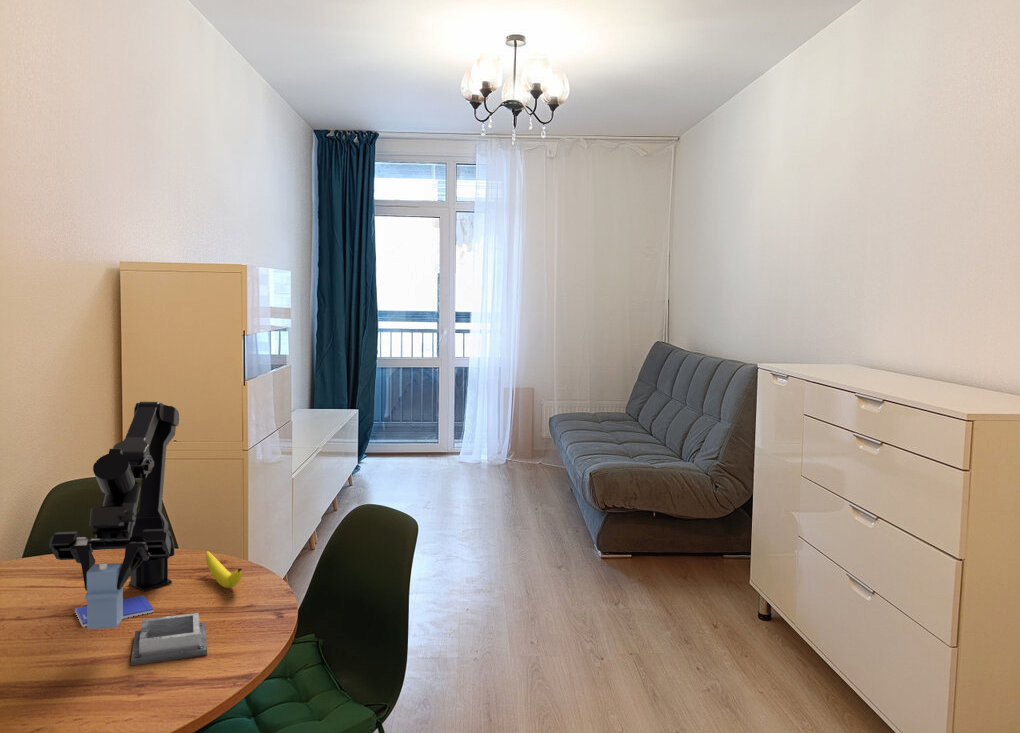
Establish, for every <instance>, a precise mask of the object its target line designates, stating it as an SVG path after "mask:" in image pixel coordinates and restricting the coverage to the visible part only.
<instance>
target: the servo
mask: <svg viewBox="0 0 1020 733" xmlns="http://www.w3.org/2000/svg"><path fill="white" fill-rule="evenodd" d="M122 564H123V562H119V563H118V562H116V563H107V562H101V563H95V564H94V565H93V566H92V567H91V568H90V569H89V570H88V571H87V591H86V594H85V595H84V600H86V606H87V627H86V628H87V630H97V629H99V630H101V629H117V628H118V627H119V625H120V623H121V621H123V599H124V593H123V591H124V590H123V588H124V586H125V584H124V585H123V587H122V588H121V589H120V590H118V589H117V583H118V577H119V574H120V571H121V567H122Z"/></svg>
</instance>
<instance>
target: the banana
mask: <svg viewBox="0 0 1020 733" xmlns="http://www.w3.org/2000/svg"><path fill="white" fill-rule="evenodd" d="M205 554H206V555H205V557H206V558H205V559H206V564H207V567H208V570H209V571H210V574H211V576H212V577H213V578H214V579H215V581H216V582H217V584H219V585H220V586H221V587H222V588H226V589H232V588H234V587H236V586H237V585H238V584H240V581H241V580H242V579H241V578H242V575H243V574H242V570H243V569H242V568H238V569H237V570H236V571H233V572H230V571H229V570H228V569H227V568H226V567H225V566H224V565H223V564H222V563H221V562H220V561H219V559H217V558H216V557H215V556H214V555H213V554H212V553H211V552H210V550H209V551H206V553H205Z"/></svg>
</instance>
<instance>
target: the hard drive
mask: <svg viewBox="0 0 1020 733" xmlns="http://www.w3.org/2000/svg"><path fill="white" fill-rule="evenodd" d="M152 612H153V613H154V607H153V606H152V605H151V603H150V602H149V601H148V600H147V598H146V597H145V596H144V595H143V594H142V595H138V596H133V597H128V598H123V619H124V620H125V619H128V617H129V618H133V616H134V617H137V616H138V615H139V616H142V614H144V615H148V614H151V613H152ZM75 613H76V614H75ZM147 613H148V614H147ZM74 614H75V616H76V615H77V616H76V618H77V617H78V618H77V619H79V620H78V622H79V623H80V625H81V627H82V628H86V627H85V626H87V605H86V606H85V605H84V606H81V607H76V608H74ZM123 619H122V620H123Z"/></svg>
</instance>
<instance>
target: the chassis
mask: <svg viewBox="0 0 1020 733" xmlns="http://www.w3.org/2000/svg"><path fill="white" fill-rule="evenodd" d="M199 614H200V612H195V613H186V614H185V613H184V614H178V615H169V616H162V617H160V616H159V617H153V618H145V619H141V624H140V626H141V627H140V630H135V631H134V638H133V644H132V652H131V660H130V661H131V663H130V666H132V667H133V666H137V665H144V664H145V665H146V664H151V663H159V662H160V663H161V662H167V661H174V660H175V661H176V660H180V659H187V658H188V659H189V658H196V657H202V656H203V657H204V656H208V642H207V628H206V627H207V626H206V625H207V624H206V622H205V621H203V622H200V615H199Z"/></svg>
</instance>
